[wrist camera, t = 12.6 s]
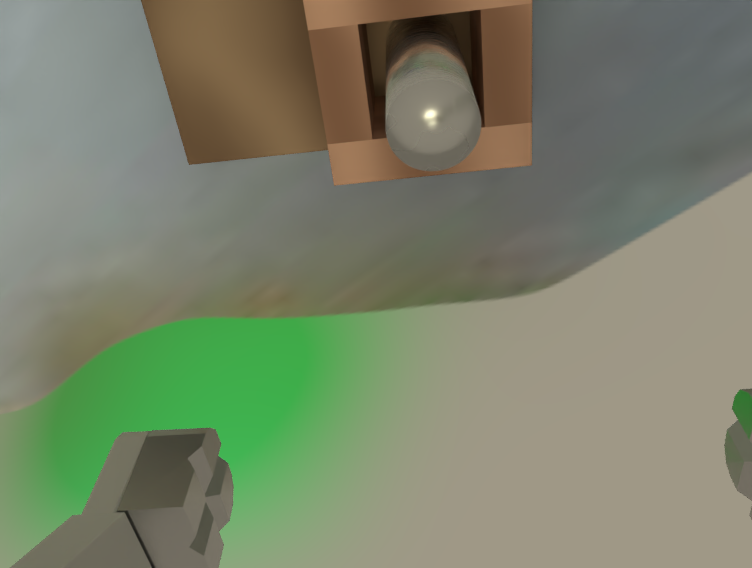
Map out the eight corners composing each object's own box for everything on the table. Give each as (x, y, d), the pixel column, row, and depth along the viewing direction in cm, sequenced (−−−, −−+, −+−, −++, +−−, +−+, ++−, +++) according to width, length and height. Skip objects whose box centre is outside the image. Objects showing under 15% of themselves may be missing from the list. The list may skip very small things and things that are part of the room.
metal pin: (453, 1, 29) (479, 74, 21) (457, 72, 31) (482, 166, 23) (382, 10, 30) (380, 85, 21) (389, 79, 31) (390, 176, 23)
